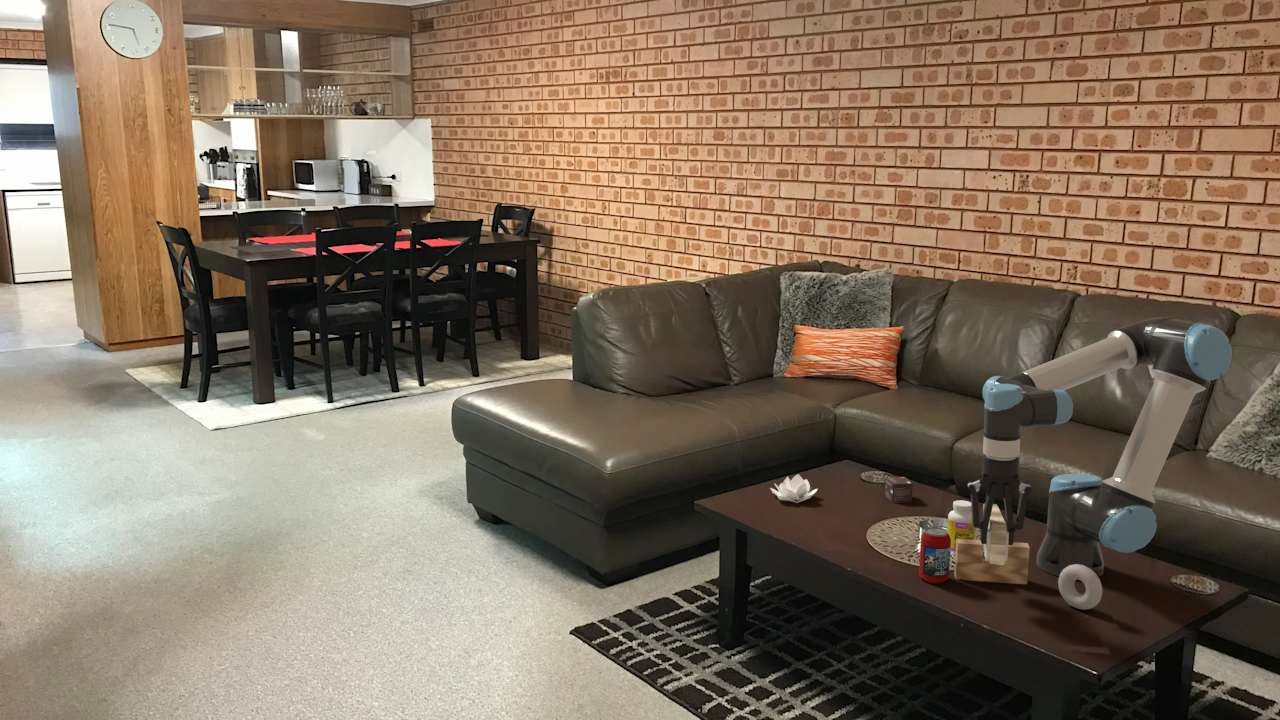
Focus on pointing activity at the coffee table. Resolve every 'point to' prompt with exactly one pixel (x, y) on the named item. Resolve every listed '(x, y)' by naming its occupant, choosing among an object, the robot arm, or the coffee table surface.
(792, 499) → the lotus flower
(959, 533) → the supplement bottle
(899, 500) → the box
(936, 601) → the coffee table surface
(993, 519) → the notched cream plank
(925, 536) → the beverage can
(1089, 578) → the donut
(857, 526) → the coffee table surface
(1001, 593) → the coffee table surface
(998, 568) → the oak rail
